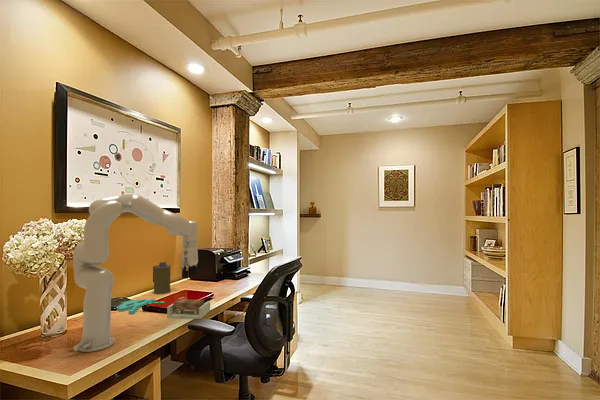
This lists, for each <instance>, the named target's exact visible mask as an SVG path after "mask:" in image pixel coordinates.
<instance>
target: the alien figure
mask: <svg viewBox="0 0 600 400" xmlns="http://www.w3.org/2000/svg"><path fill="white" fill-rule="evenodd" d="M153 302H154V303H165V304H166V302H165V301H162V300H161V301H156V299H154V298H148V299H147V298H144V299H143V298H142V299H130V300H127V301H123V302H122V303H121V304H119V306H118V307H117V308H116V310H117V311H118V312H121V313H123V312H126V311H128V315H130V316H131V315H135V314H136V313H137V311H139V309H141V308H143V307H142V306H144V305H147V304H152V303H153Z"/></svg>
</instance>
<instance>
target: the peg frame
mask: <svg viewBox="0 0 600 400" xmlns="http://www.w3.org/2000/svg"><path fill="white" fill-rule="evenodd" d="M173 308H174V302H173V303H171V304H170V305H168V306H166V309H167V312H166V314H167V317H166V318H168V319H188V320H189V319H191V320H192V319H193V320H194V319H196V320H198V319H199V320H201V319H203V318H204V317H205V316H207V315H208V314H209V312H211V301H210V300H208V301H206V302H204V304H203V305H202V306H201V307H200V308H199V310H183V309H178V311H177V309H173Z"/></svg>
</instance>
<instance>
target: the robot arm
mask: <svg viewBox="0 0 600 400" xmlns="http://www.w3.org/2000/svg"><path fill="white" fill-rule="evenodd" d="M88 213H89V216H88V218H86V221H85V224H84V228H83V241H81V242H79V243H78V244H77V245H76V246H75V248H74V250H73V252H72V253H73V254H72V264H73V265H72V266H73V278H74V283H75V284H76V285H77V286H78V287H79V288H81V289H85V295H84V299H83V306H82V309H83V310H82V312H83V313H82V314H83V315H82V338H80V342H79V343H78V344H76V345H74V346H73V347H72V349H73V351H75V352H77V351H79V352H82V353H90V352H97V351H102V350H104V349H105V350H106V349H107V348H109V347H110V346H112V345H114V343H115V338H114V337H113V336H112V337H111V326H112V325H111V322H112V321H111V320H112V318H111V317H112V316H111V315H112V312H111V311H112V293H113V292H112V291H113V287H114V282H115V278H114V274H113V273H112V271H111V270H109V269H108V268H105V267H101V266H100V265H102V264H105V262H107V261H108V259H109V257H110V241H109V230H110V226H111V224H112V223H113V222H114V220H116V219H117V218H118V217H120V215H121V214H125V213H131V214H133V215H135V216H137V217H138V218H141V219H143V220H144V221H145V222H148V223H150V224H153V225H156V226H160V227H161V226H162V227H165V228H166V229H165V230H166V232H167V233H168V234H170V236H182V244H181V246H182V254H181V262H180V267H181V279H188V278H189V275H194V276H195V275H197V266H198V263H199V256H198V255H199V254H198V253H199V252H198V251H199V250H198V229H199V228H198V221H196V220H188V219H186V218H184V217H182V216H181V215H178V214H176V213H174V212H172V211H170V210H167V209H165V208H162V207H160V206H158V205H156V204H155V203H153V202H152V201H150V200H149V199H147V198H146V197H144V196H142V195H139V194H137V193H128V194H127V193H126V194H125V193H124V194H121V195H115V196H112V197H105V198H102V199H97V200H94V201H92V202H91V203H90V204H89V206H88ZM189 268H190V269H189ZM189 271H190V273H189Z"/></svg>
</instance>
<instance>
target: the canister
mask: <svg viewBox="0 0 600 400" xmlns="http://www.w3.org/2000/svg"><path fill="white" fill-rule="evenodd" d="M167 263H168V261H167V262H166V261H160V262H159V265H153V267H152V283H153V294H154V295H166V294H169V293H170V292H171V268H172V266H171V265H169V264H167Z"/></svg>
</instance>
